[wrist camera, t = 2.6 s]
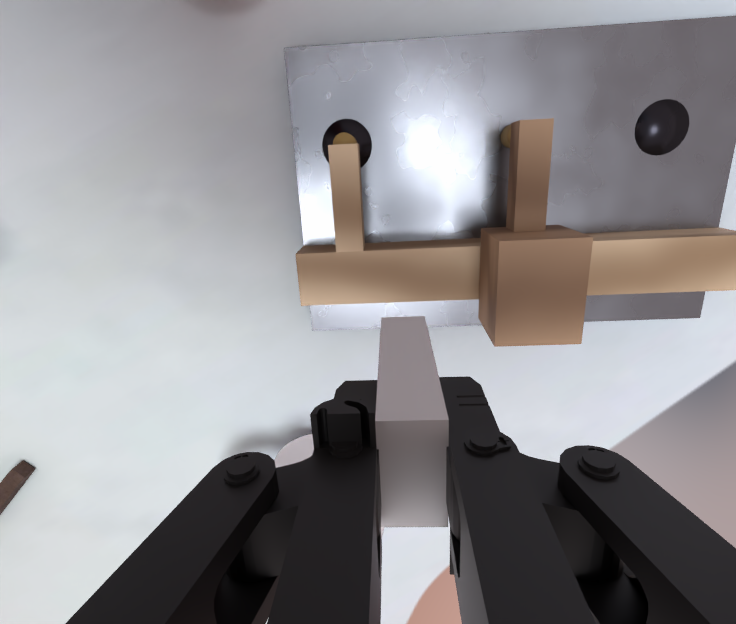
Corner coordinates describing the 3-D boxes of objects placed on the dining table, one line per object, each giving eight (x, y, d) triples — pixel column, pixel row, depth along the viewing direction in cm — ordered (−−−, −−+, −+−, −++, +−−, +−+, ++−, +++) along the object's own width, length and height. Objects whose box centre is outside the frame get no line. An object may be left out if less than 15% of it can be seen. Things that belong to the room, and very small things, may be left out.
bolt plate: (289, 53, 24) (283, 47, 23) (743, 21, 23) (762, 13, 22) (315, 324, 29) (312, 330, 28) (687, 311, 28) (700, 317, 27)
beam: (292, 137, 25) (283, 134, 22) (742, 110, 23) (782, 105, 21) (308, 293, 27) (300, 305, 25) (707, 278, 26) (739, 289, 24)
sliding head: (474, 126, 24) (505, 114, 18) (550, 122, 23) (607, 108, 17) (470, 304, 27) (494, 346, 21) (536, 301, 27) (581, 343, 21)
